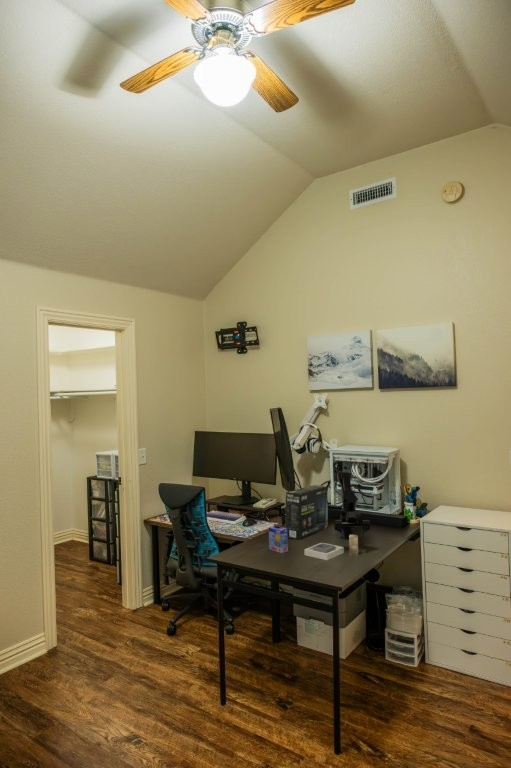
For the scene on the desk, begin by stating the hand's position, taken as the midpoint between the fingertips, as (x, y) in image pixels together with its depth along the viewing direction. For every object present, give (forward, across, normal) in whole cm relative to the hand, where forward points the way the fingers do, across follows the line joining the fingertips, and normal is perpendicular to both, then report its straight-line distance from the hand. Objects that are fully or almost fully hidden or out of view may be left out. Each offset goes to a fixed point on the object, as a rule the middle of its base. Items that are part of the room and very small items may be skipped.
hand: (353, 539), depth 250 cm
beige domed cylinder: (+6, 0, +6) cm, 8 cm away
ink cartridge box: (+1, -40, +10) cm, 41 cm away
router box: (-26, -24, +38) cm, 51 cm away
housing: (+5, -15, +6) cm, 17 cm away
